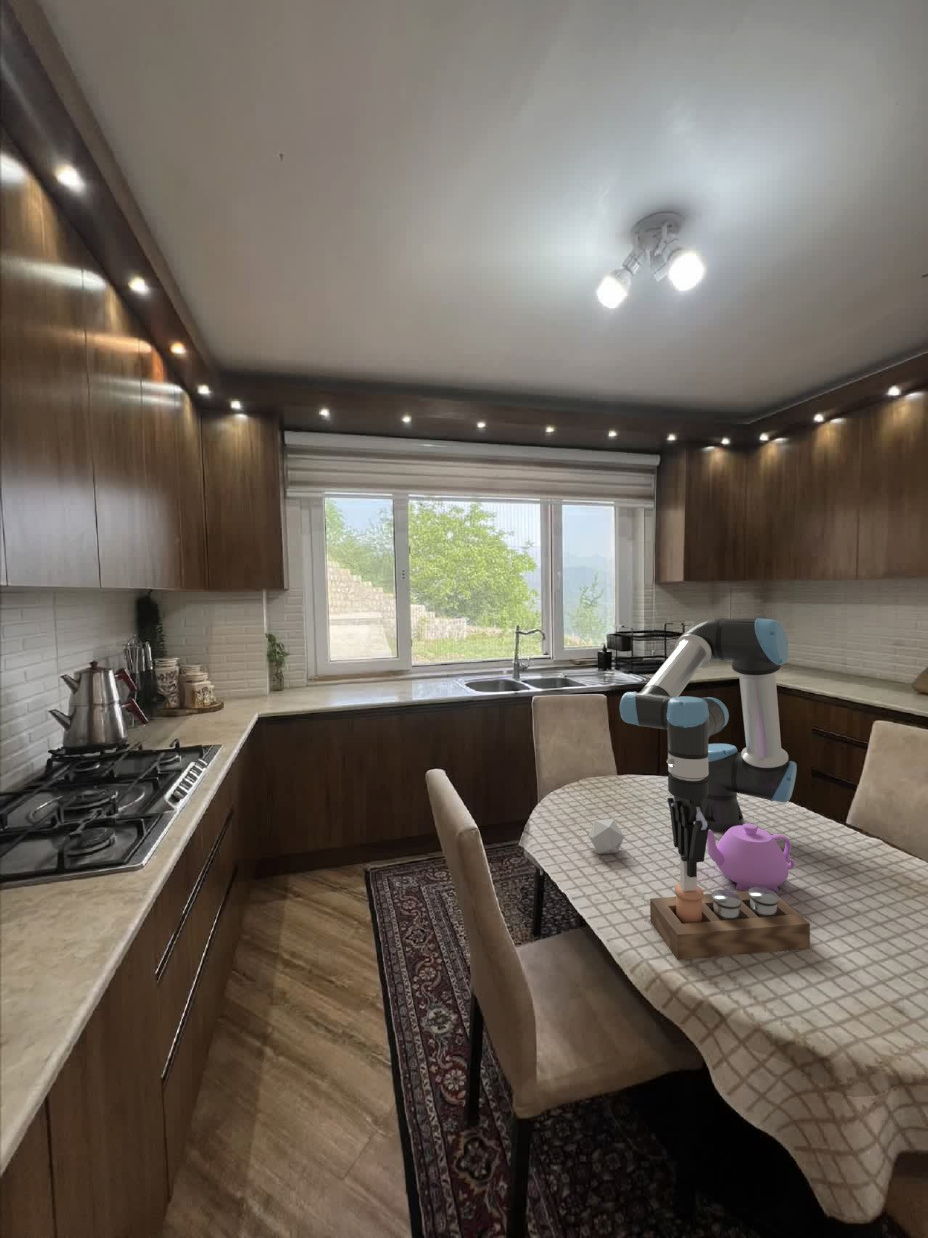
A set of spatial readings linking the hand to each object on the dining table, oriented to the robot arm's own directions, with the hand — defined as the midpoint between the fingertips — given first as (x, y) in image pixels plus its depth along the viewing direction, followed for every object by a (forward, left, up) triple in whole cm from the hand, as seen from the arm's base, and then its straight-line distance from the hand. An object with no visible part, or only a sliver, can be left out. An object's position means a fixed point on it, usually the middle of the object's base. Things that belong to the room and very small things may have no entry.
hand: (688, 888), depth 106 cm
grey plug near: (-16, 0, -9) cm, 19 cm away
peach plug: (0, 0, -7) cm, 7 cm away
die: (+4, -37, -11) cm, 39 cm away
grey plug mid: (-8, 0, -9) cm, 12 cm away
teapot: (-24, -18, -11) cm, 32 cm away
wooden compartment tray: (-8, 0, -10) cm, 13 cm away
